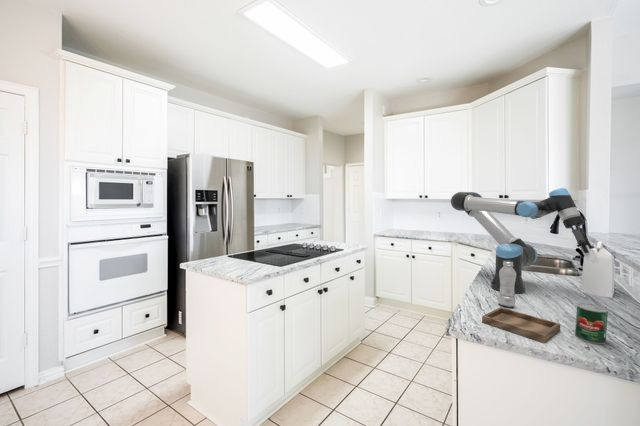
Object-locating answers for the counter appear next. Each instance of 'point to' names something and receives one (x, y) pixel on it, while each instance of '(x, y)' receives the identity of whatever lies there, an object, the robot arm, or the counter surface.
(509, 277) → the plastic bottle
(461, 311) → the counter surface
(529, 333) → the walnut tray
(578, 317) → the canned tomato
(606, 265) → the milk
